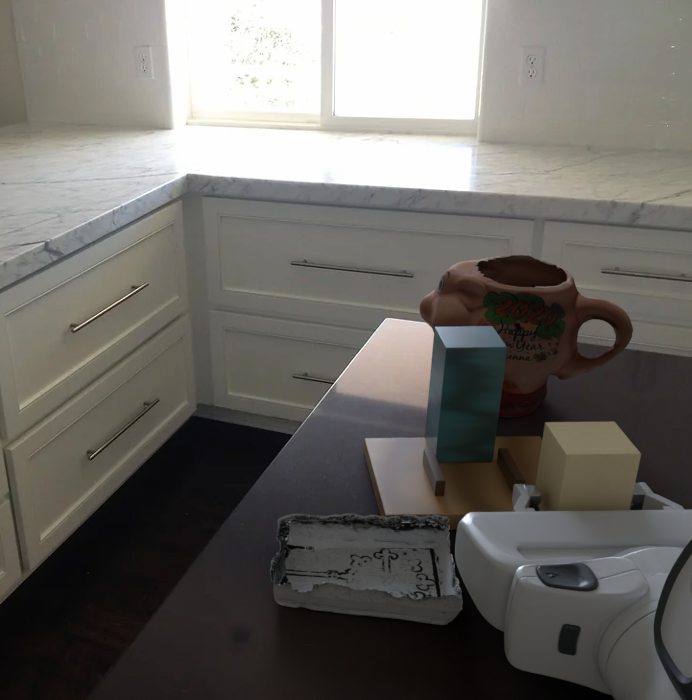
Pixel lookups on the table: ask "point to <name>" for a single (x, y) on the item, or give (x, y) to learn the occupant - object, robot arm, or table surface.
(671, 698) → the robot arm
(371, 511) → the table surface
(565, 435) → the beige rectangular block
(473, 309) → the brown sculpted mug
